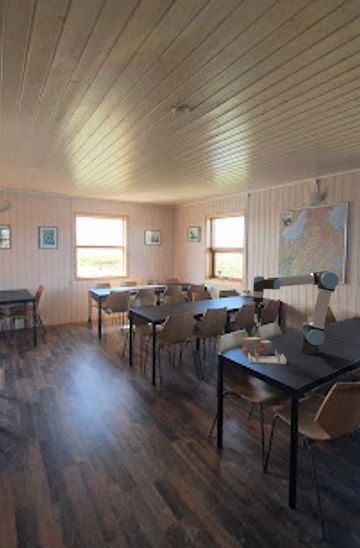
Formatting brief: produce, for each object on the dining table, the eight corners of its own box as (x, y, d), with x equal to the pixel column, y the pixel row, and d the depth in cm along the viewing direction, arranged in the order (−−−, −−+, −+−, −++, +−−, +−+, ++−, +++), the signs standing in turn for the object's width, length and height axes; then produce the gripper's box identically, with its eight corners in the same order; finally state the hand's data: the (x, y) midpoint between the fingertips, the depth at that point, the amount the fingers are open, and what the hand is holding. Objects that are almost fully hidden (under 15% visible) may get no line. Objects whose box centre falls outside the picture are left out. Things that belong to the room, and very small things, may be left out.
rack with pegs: (282, 358, 237) (282, 349, 236) (286, 364, 224) (286, 355, 223) (247, 356, 239) (248, 348, 239) (250, 362, 226) (250, 354, 226)
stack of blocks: (267, 351, 252) (268, 336, 251) (271, 354, 246) (272, 338, 245) (242, 353, 248) (242, 337, 247) (245, 355, 241) (245, 339, 241)
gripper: (251, 294, 256) (250, 320, 258) (255, 299, 231) (254, 328, 233) (260, 294, 255) (259, 320, 257) (265, 299, 231) (264, 328, 232)
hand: (257, 324), depth 245 cm, fingers open, 13 cm apart
